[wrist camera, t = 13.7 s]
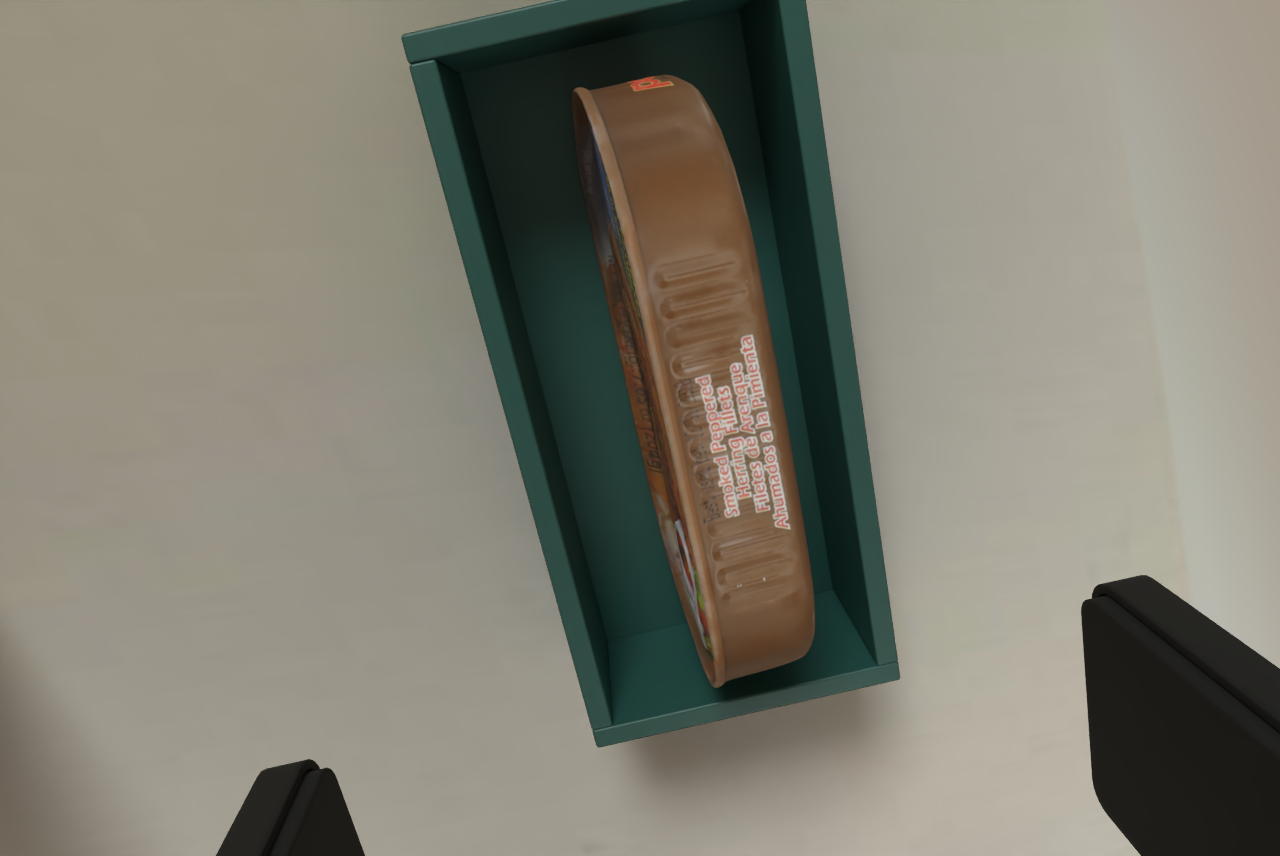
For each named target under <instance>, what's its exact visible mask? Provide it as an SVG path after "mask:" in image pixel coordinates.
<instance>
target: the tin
mask: <svg viewBox="0 0 1280 856" xmlns="http://www.w3.org/2000/svg"><path fill="white" fill-rule="evenodd" d="M572 111H573V120H574V132H575V140H576V151H577V159H578V167H579V173H580V178H581V183H582V188H583V193H584V198H585V204H586V209H587V213H588V218H589V221H590V225H591V229H592V236H593V240H594V245H595V250H596V255H597V259H598V263H599V268H600V273H601V277H602V281H603V284H604V290H605V294H606V299H607V304H608V308H609V312H610V316H611V321H612V325H613V330H614V334H615V338H616V343H617V347H618V352H619V356H620V361H621V365H622V369H623V373H624V378H625V383H626V388H627V392H628V396H629V400H630V405H631V410H632V414H633V419H634V423H635V428H636V432H637V437H638V441H639V446H640V450H641V454H642V458H643V463H644V467H645V471H646V476H647V480H648V484H649V488H650V493H651V497H652V500H653V504H654V508H655V511H656V515H657V520H658V524H659V528H660V532H661V536H662V539H663V543H664V547H665V550H666V554H667V558H668V561H669V564H670V568H671V571H672V574H673V578H674V581H675V585H676V589H677V591H678V594H679V597H680V600H681V604H682V607H683V610H684V613H685V616H686V619H687V622H688V625H689V627H690V630H691V634H692V637H693V640H694V643H695V647H696V650H697V653H698V655H699V658H700V660H701V663H702V666H703V669H704V671H705V673H706V675H707V677H708V679H709V681H710V683H711V685H712V686H713V687H714V688H718V687H720V686H722V685H723V684H724V683H725V682H726V681H729V680H732V679H735V678H739V677H743V676H746V675H750V674H754V673H757V672H761V671H765V670H768V669H772V668H775V667H778V666H781V665H785V664H787V663H790V662H793V661H795V660H797V659H799V658H801V657H803V656H804V655H805V654H806V653H807V652H808V650H809V649H810V647H811V644H812V642H813V638H814V633H815V603H814V589H813V581H812V574H811V566H810V560H809V554H808V548H807V542H806V536H805V529H804V522H803V517H802V510H801V504H800V497H799V491H798V485H797V480H796V475H795V467H794V461H793V455H792V450H791V444H790V437H789V432H788V426H787V421H786V415H785V410H784V405H783V398H782V392H781V386H780V380H779V374H778V369H777V363H776V358H775V353H774V348H773V343H772V336H771V329H770V324H769V319H768V314H767V309H766V303H765V297H764V292H763V287H762V281H761V276H760V270H759V265H758V259H757V254H756V249H755V245H754V240H753V236H752V231H751V227H750V222H749V218H748V214H747V210H746V206H745V203H744V199H743V195H742V192H741V188H740V184H739V181H738V177H737V174H736V170H735V167H734V164H733V162H732V159H731V156H730V153H729V151H728V148H727V145H726V142H725V140H724V137H723V134H722V131H721V129H720V127H719V125H718V123H717V121H716V119H715V117H714V115H713V113H712V111H711V109H710V108H709V106H708V104H707V102H706V101H705V99H704V97H703V96H702V95H701V93H700V92H699V90H697V89H696V88H695V87H694V86H693V85H692V84H690V83H688V82H686V81H684V80H682V79H680V78H678V77H675V76H672V75H659V76H652V77H647V78H643V79H638V80H634V81H630V82H626V83H622V84H618V85H613V86H609V87H604V88H599V89H594V90H587V89H585V88H583V87H578V88H575V89H574V90H573V94H572Z"/></svg>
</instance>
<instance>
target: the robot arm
mask: <svg viewBox="0 0 1280 856" xmlns="http://www.w3.org/2000/svg"><path fill="white" fill-rule="evenodd" d="M1081 616H1082V631H1083V646H1084V661H1085V676H1086V691H1087V706H1088V721H1089V736H1090V751H1091V766H1092V779H1093V786H1094V789H1095V792H1096V795H1097V797H1098V800H1099V802H1100V804H1101V806H1102V807H1103V809H1104V811H1105V812H1106V813H1107V815H1108V816H1109V817H1110V818H1111V820H1112V821H1113V822H1114V823H1115V824H1116V826H1117V827H1118V828H1119V829H1120V831H1121V832H1122V833H1123V834H1124V835H1125V837H1126V838H1127V839H1128V840H1129V842H1130V843H1131V844H1132V845H1133V846H1134V848H1135V849H1136V850H1137V851H1138V852H1139V854H1140V855H1141V856H1280V669H1279V668H1278V667H1276V666H1275V665H1274V664H1272V663H1271V662H1269V661H1268V660H1267V659H1265V658H1264V657H1262V656H1261V655H1259V654H1258V653H1257V652H1255V651H1254V650H1253V649H1251V648H1250V647H1248V646H1247V645H1245V644H1244V643H1243V642H1241V641H1240V640H1239V639H1237V638H1236V637H1234V636H1233V635H1231V634H1230V633H1229V632H1227V631H1226V630H1224V629H1223V628H1222V627H1220V626H1219V625H1217V624H1216V623H1215V622H1213V621H1212V620H1210V619H1209V618H1208V617H1206V616H1205V615H1203V614H1202V613H1201V612H1199V611H1198V610H1196V609H1195V608H1194V607H1192V606H1191V605H1189V604H1188V603H1187V602H1185V601H1184V600H1182V599H1181V598H1179V597H1178V596H1177V595H1175V594H1174V593H1172V592H1171V591H1170V590H1168V589H1167V588H1165V587H1164V586H1163V585H1161V584H1160V583H1158V582H1157V581H1156V580H1154V579H1153V578H1151V577H1149V576H1147V575H1140V576H1136V577H1131V578H1127V579H1122V580H1118V581H1113V582H1108V583H1104V584H1099V585H1097V586H1096V587H1095V588H1094V591H1093V593H1092V599H1088V600H1085V601H1084V602H1083V604H1082V608H1081ZM216 856H365V854H364V852H363V849H362V846H361V843H360V841H359V838H358V835H357V833H356V830H355V827H354V824H353V822H352V819H351V816H350V814H349V811H348V808H347V805H346V803H345V800H344V797H343V794H342V792H341V789H340V786H339V784H338V781H337V778H336V776H335V774H334V772H333V771H332V770H331V769H329V768H324V769H320V768H319V766H318V765H317V764H316V762H315V761H313V760H310V759H308V760H304V761H299V762H295V763H290V764H286V765H281V766H277V767H272V768H268V769H265V770H263V771H261V773H260V774H259V775H258V777H257V778H256V780H255V782H254V784H253V786H252V788H251V790H250V792H249V794H248V796H247V797H246V799H245V801H244V803H243V805H242V807H241V809H240V811H239V813H238V815H237V816H236V818H235V820H234V822H233V824H232V826H231V828H230V830H229V832H228V834H227V836H226V837H225V839H224V841H223V843H222V845H221V847H220V849H219V851H218V853H217V855H216Z"/></svg>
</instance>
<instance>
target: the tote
mask: <svg viewBox="0 0 1280 856" xmlns="http://www.w3.org/2000/svg"><path fill="white" fill-rule="evenodd" d="M401 39H402V42H403V46H404V50H405V53H406V57H407V61H408V62H409V63H410V64H411V65H410V71H411V75H412V79H413V82H414V86H415V90H416V93H417V97H418V100H419V104H420V108H421V111H422V115H423V119H424V122H425V126H426V129H427V133H428V137H429V140H430V144H431V148H432V151H433V155H434V158H435V162H436V166H437V169H438V173H439V177H440V180H441V184H442V187H443V191H444V195H445V198H446V202H447V206H448V209H449V213H450V216H451V220H452V224H453V227H454V231H455V235H456V238H457V242H458V246H459V249H460V253H461V256H462V260H463V264H464V267H465V271H466V275H467V278H468V282H469V285H470V289H471V293H472V296H473V300H474V304H475V307H476V311H477V314H478V318H479V322H480V325H481V329H482V333H483V336H484V340H485V343H486V347H487V351H488V354H489V358H490V362H491V365H492V369H493V372H494V376H495V380H496V383H497V387H498V391H499V394H500V398H501V401H502V405H503V409H504V412H505V416H506V420H507V423H508V427H509V430H510V434H511V438H512V441H513V445H514V449H515V452H516V456H517V459H518V463H519V467H520V470H521V474H522V478H523V481H524V485H525V488H526V492H527V496H528V499H529V503H530V507H531V510H532V514H533V517H534V521H535V525H536V528H537V532H538V536H539V539H540V543H541V546H542V550H543V554H544V557H545V561H546V565H547V568H548V572H549V575H550V579H551V583H552V586H553V590H554V594H555V597H556V601H557V604H558V608H559V612H560V615H561V619H562V623H563V626H564V630H565V633H566V637H567V641H568V644H569V648H570V652H571V655H572V659H573V662H574V666H575V670H576V673H577V677H578V681H579V684H580V688H581V691H582V695H583V699H584V702H585V706H586V710H587V713H588V717H589V720H590V724H591V728H592V729H593V735H594V739H595V742H596V745H597V747H604V746H608V745H613V744H617V743H621V742H626V741H630V740H635V739H639V738H643V737H648V736H652V735H657V734H661V733H665V732H670V731H674V730H679V729H683V728H688V727H692V726H696V725H701V724H705V723H710V722H714V721H718V720H723V719H727V718H732V717H736V716H740V715H745V714H749V713H754V712H758V711H763V710H767V709H771V708H776V707H780V706H785V705H789V704H793V703H798V702H802V701H807V700H811V699H815V698H820V697H824V696H829V695H833V694H838V693H842V692H846V691H851V690H855V689H860V688H864V687H868V686H873V685H877V684H882V683H886V682H890V681H895V680H899V679H900V673H899V666H898V662H897V660H898V658H897V651H896V644H895V637H894V629H893V622H892V615H891V608H890V601H889V594H888V586H887V579H886V572H885V565H884V558H883V551H882V543H881V536H880V529H879V522H878V515H877V508H876V500H875V493H874V486H873V479H872V472H871V464H870V457H869V450H868V443H867V436H866V429H865V421H864V414H863V407H862V400H861V393H860V386H859V378H858V371H857V364H856V357H855V350H854V343H853V335H852V328H851V321H850V314H849V307H848V299H847V292H846V285H845V278H844V271H843V264H842V256H841V249H840V242H839V235H838V228H837V221H836V213H835V206H834V199H833V192H832V185H831V178H830V170H829V163H828V156H827V149H826V142H825V134H824V127H823V120H822V113H821V106H820V99H819V91H818V84H817V77H816V70H815V63H814V56H813V48H812V41H811V34H810V27H809V20H808V13H807V5H806V0H553V1H549V2H545V3H540V4H536V5H531V6H527V7H522V8H518V9H513V10H509V11H505V12H500V13H496V14H491V15H487V16H482V17H478V18H474V19H469V20H465V21H460V22H456V23H451V24H447V25H443V26H438V27H434V28H429V29H425V30H420V31H416V32H411V33H407V34H403V35H402V38H401ZM659 75H672V76H675V77H678V78H680V79H682V80H684V81H686V82H688V83H690V84H692V85H693V86H694V87H695V88H696V89H697V90H699V92H700V93H701V95H702V96H703V97H704V99H705V101H706V102H707V104H708V106H709V108H710V109H711V111H712V113H713V115H714V117H715V119H716V121H717V123H718V125H719V127H720V129H721V131H722V134H723V137H724V140H725V142H726V145H727V148H728V151H729V153H730V156H731V159H732V162H733V164H734V167H735V170H736V174H737V177H738V181H739V184H740V188H741V192H742V195H743V199H744V203H745V206H746V210H747V214H748V218H749V222H750V227H751V231H752V236H753V240H754V245H755V249H756V254H757V259H758V265H759V270H760V276H761V281H762V287H763V292H764V297H765V303H766V309H767V314H768V319H769V324H770V329H771V336H772V343H773V348H774V353H775V358H776V363H777V369H778V374H779V380H780V386H781V392H782V398H783V405H784V410H785V415H786V421H787V426H788V432H789V437H790V444H791V450H792V455H793V461H794V467H795V475H796V480H797V485H798V491H799V497H800V504H801V510H802V517H803V522H804V529H805V536H806V542H807V548H808V554H809V560H810V566H811V574H812V581H813V589H814V603H815V633H814V638H813V642H812V644H811V647H810V649H809V650H808V652H807V653H806V654H805V655H804V656H803V657H801V658H799V659H797V660H795V661H793V662H790V663H787V664H785V665H781V666H778V667H775V668H772V669H768V670H765V671H761V672H757V673H754V674H750V675H746V676H743V677H739V678H735V679H732V680H729V681H726V682H725V683H724V684H723V685H722V686H720V687H718V688H714V687H713V686H712V685H711V683H710V681H709V679H708V677H707V675H706V673H705V671H704V669H703V666H702V663H701V660H700V658H699V655H698V653H697V650H696V647H695V643H694V640H693V637H692V634H691V630H690V627H689V625H688V622H687V619H686V616H685V613H684V610H683V607H682V604H681V600H680V597H679V594H678V591H677V589H676V585H675V581H674V578H673V574H672V571H671V568H670V564H669V561H668V558H667V554H666V550H665V547H664V543H663V539H662V536H661V532H660V528H659V524H658V520H657V515H656V511H655V508H654V504H653V500H652V497H651V493H650V488H649V484H648V480H647V476H646V471H645V467H644V463H643V458H642V454H641V450H640V446H639V441H638V437H637V432H636V428H635V423H634V419H633V414H632V410H631V405H630V400H629V396H628V392H627V388H626V383H625V378H624V373H623V369H622V365H621V361H620V356H619V352H618V347H617V343H616V338H615V334H614V330H613V325H612V321H611V316H610V312H609V308H608V304H607V299H606V294H605V290H604V284H603V281H602V277H601V273H600V268H599V263H598V259H597V255H596V250H595V245H594V240H593V236H592V229H591V225H590V221H589V218H588V213H587V209H586V204H585V198H584V193H583V188H582V183H581V178H580V173H579V167H578V159H577V151H576V140H575V132H574V120H573V111H572V94H573V90H574V89H575V88H578V87H583V88H585V89H587V90H594V89H599V88H604V87H609V86H613V85H618V84H622V83H626V82H630V81H634V80H638V79H643V78H647V77H652V76H659Z"/></svg>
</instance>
